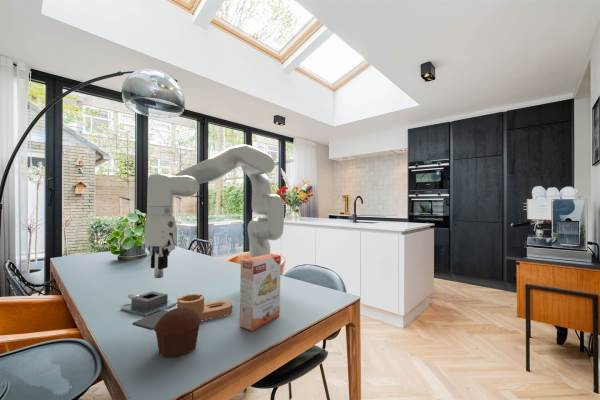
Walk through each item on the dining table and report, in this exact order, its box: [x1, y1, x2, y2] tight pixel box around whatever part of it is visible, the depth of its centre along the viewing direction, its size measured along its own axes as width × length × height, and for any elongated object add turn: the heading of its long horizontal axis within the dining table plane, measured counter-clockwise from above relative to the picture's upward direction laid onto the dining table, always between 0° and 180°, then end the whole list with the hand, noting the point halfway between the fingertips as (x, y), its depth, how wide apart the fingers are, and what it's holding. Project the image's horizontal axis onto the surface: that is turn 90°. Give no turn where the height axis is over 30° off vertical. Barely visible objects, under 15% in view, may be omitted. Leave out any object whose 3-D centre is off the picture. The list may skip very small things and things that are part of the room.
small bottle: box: [153, 247, 165, 279], centre depth 87 cm, size 3×3×10 cm
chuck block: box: [120, 290, 177, 317], centre depth 98 cm, size 18×12×4 cm, turn 66°
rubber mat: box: [132, 310, 170, 330], centre depth 87 cm, size 9×11×1 cm
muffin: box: [153, 307, 202, 359], centre depth 70 cm, size 12×11×10 cm
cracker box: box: [238, 253, 282, 332], centre depth 87 cm, size 14×6×21 cm, turn 148°
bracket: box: [176, 293, 233, 321], centre depth 91 cm, size 18×8×7 cm, turn 124°
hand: (159, 267), depth 87 cm, fingers closed on small bottle, 2 cm apart
